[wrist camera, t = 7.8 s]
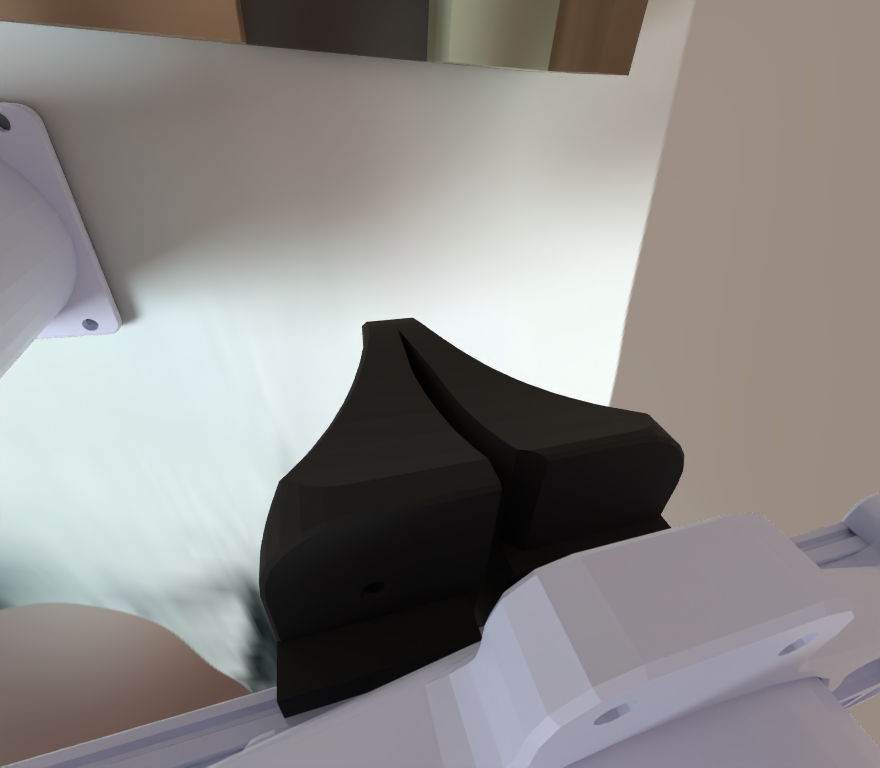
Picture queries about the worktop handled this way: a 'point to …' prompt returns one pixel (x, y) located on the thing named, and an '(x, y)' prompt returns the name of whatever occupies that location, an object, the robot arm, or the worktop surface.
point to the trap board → (379, 27)
